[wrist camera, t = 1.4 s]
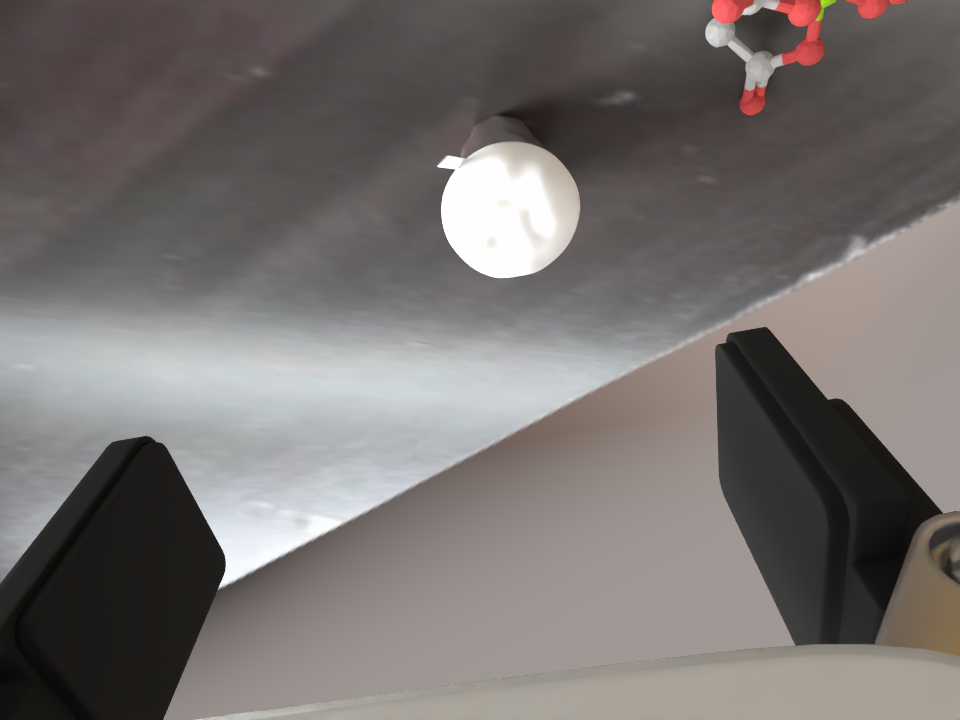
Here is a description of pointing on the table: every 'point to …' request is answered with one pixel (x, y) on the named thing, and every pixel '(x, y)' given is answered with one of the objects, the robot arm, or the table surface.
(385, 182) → the table surface
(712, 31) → the molecular model
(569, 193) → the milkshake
